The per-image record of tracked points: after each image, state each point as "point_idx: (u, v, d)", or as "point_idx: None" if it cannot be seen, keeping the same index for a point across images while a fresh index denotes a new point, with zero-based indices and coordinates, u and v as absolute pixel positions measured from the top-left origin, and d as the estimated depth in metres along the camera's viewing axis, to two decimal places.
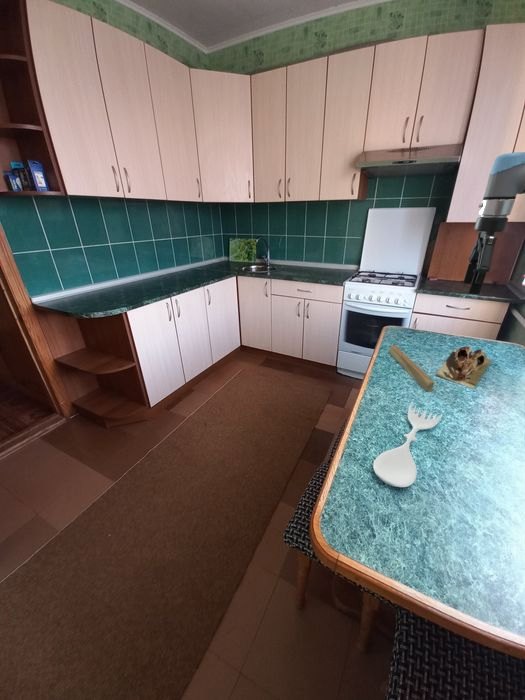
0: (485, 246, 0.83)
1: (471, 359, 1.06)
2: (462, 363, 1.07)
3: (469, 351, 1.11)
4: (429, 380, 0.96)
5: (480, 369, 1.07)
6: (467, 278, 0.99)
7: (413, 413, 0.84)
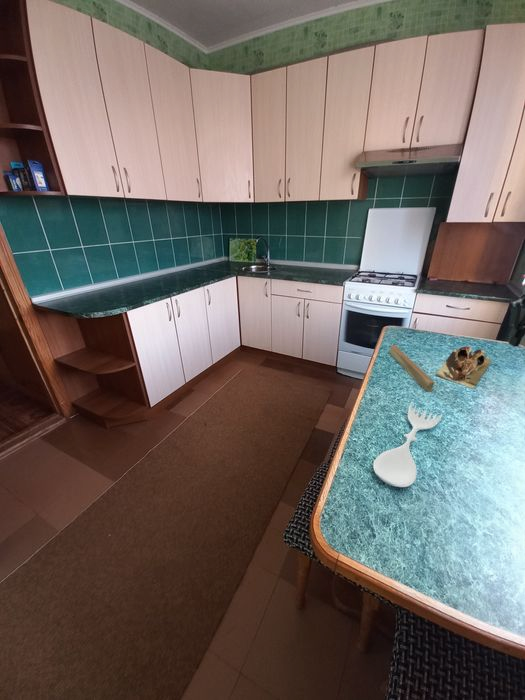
0: (512, 308, 1.01)
1: (471, 359, 1.06)
2: (462, 363, 1.07)
3: (469, 351, 1.11)
4: (429, 380, 0.96)
5: (480, 369, 1.07)
6: None
7: (413, 413, 0.84)
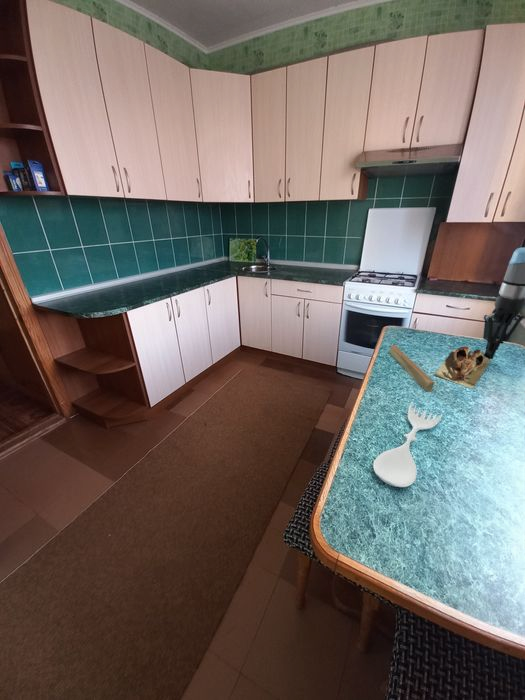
0: (485, 322, 1.03)
1: (470, 359, 1.06)
2: (461, 363, 1.07)
3: (468, 351, 1.11)
4: (429, 380, 0.96)
5: (479, 369, 1.07)
6: None
7: (413, 413, 0.84)
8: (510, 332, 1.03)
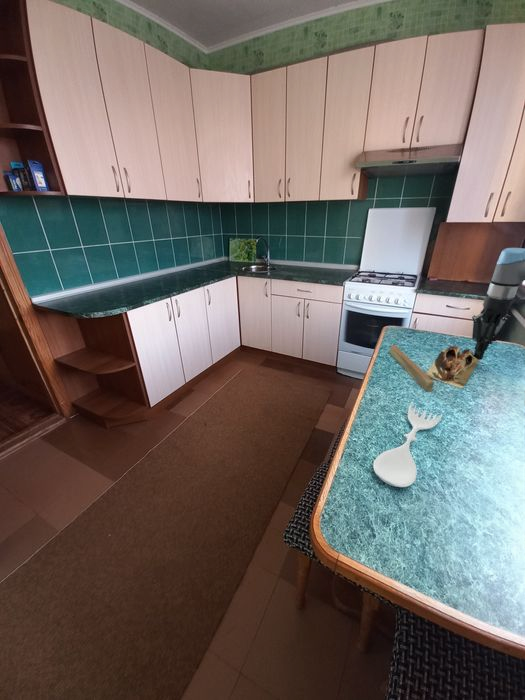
0: (473, 323, 1.03)
1: (459, 359, 1.06)
2: (451, 363, 1.07)
3: (457, 351, 1.12)
4: (429, 380, 0.96)
5: (468, 369, 1.07)
6: None
7: (413, 413, 0.84)
8: (499, 332, 1.03)
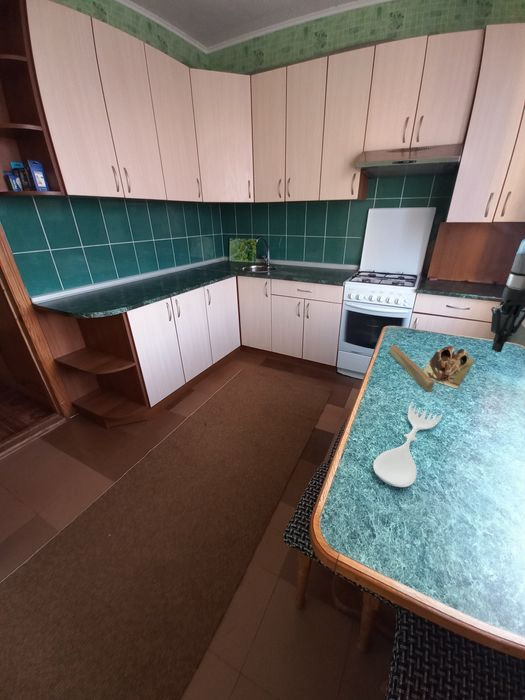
0: (492, 315, 1.01)
1: (454, 359, 1.06)
2: (445, 363, 1.07)
3: (452, 351, 1.12)
4: (429, 380, 0.96)
5: (463, 369, 1.07)
6: None
7: (413, 413, 0.84)
8: (518, 324, 1.01)
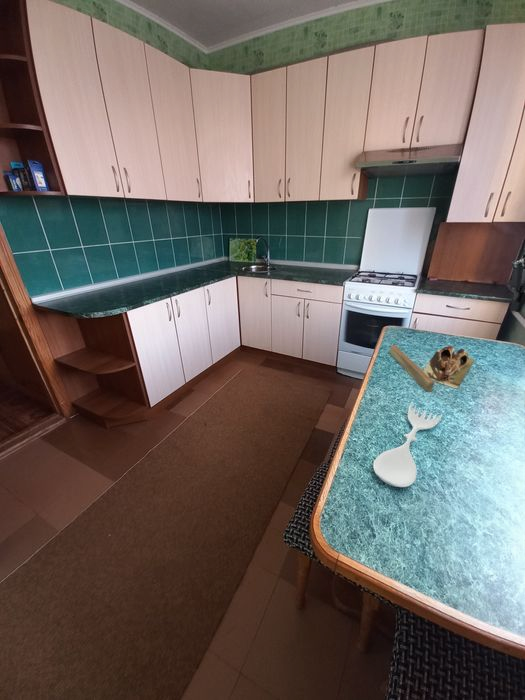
0: (513, 269, 0.95)
1: (454, 359, 1.06)
2: (445, 363, 1.07)
3: (452, 351, 1.12)
4: (429, 380, 0.96)
5: (463, 369, 1.07)
6: None
7: (413, 413, 0.84)
8: None
